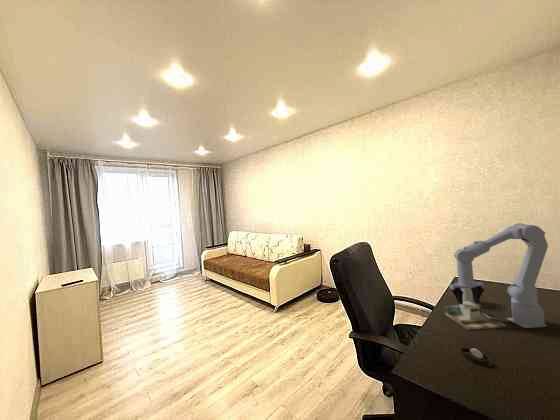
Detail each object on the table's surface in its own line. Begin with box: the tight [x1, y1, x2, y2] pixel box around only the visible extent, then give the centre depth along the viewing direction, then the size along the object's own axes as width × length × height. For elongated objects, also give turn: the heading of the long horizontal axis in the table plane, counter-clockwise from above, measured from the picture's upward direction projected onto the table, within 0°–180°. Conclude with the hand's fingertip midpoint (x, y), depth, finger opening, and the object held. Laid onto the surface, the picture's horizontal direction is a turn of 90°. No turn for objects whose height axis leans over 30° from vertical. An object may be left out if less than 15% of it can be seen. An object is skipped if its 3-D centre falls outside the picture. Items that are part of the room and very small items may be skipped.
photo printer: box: [460, 288, 477, 304], centre depth 120 cm, size 10×4×12 cm, turn 123°
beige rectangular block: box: [458, 301, 480, 320], centre depth 105 cm, size 4×6×6 cm
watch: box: [461, 347, 490, 366], centre depth 79 cm, size 8×5×4 cm, turn 33°
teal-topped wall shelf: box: [444, 303, 507, 331], centre depth 104 cm, size 16×14×4 cm
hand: (468, 302), depth 106 cm, fingers open, 7 cm apart
